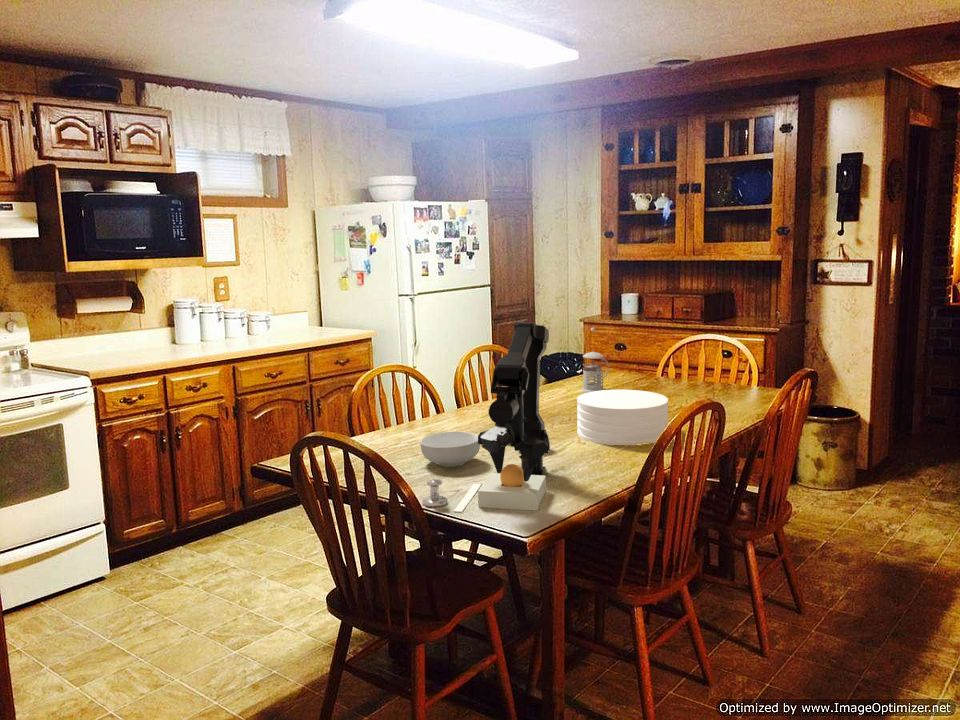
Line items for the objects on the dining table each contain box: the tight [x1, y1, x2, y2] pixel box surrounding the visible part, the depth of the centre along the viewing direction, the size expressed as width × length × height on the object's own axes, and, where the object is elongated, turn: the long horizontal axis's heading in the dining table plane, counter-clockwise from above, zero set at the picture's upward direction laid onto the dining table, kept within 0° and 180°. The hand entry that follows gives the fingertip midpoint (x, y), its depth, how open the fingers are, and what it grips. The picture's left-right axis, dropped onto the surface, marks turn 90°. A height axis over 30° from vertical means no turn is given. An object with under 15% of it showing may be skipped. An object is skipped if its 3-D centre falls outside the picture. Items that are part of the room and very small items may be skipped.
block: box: [477, 472, 547, 511], centre depth 195 cm, size 14×14×4 cm
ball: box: [500, 463, 524, 487], centre depth 194 cm, size 6×6×6 cm
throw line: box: [453, 483, 482, 513], centre depth 197 cm, size 20×2×1 cm, turn 167°
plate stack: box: [576, 389, 669, 446], centre depth 252 cm, size 28×28×12 cm
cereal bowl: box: [420, 431, 481, 468], centre depth 226 cm, size 17×17×7 cm
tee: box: [421, 478, 448, 508], centre depth 193 cm, size 6×6×6 cm
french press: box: [580, 327, 610, 393], centre depth 317 cm, size 10×12×25 cm
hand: (512, 477), depth 194 cm, fingers open, 9 cm apart
